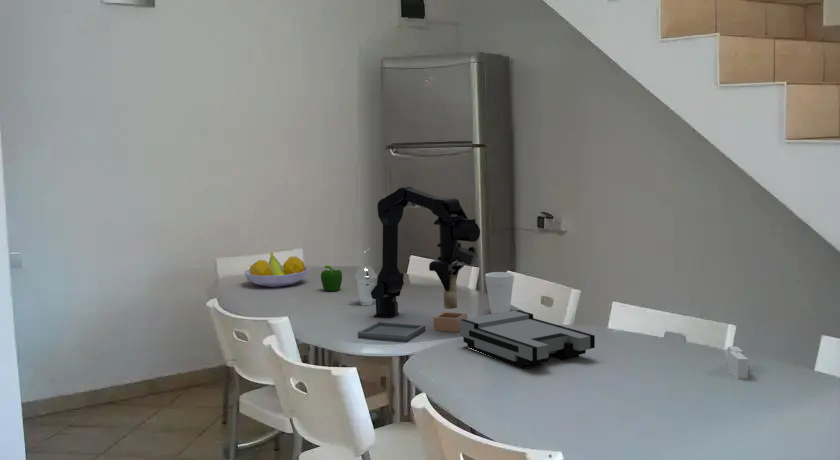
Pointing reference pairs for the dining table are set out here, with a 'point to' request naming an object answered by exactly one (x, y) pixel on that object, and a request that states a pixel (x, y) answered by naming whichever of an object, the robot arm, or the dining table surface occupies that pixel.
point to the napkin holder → (737, 362)
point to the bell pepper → (331, 279)
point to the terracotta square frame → (448, 321)
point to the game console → (523, 338)
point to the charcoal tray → (391, 331)
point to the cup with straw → (365, 282)
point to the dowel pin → (451, 294)
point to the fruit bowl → (276, 272)
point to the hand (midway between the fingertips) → (450, 289)
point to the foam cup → (499, 291)
